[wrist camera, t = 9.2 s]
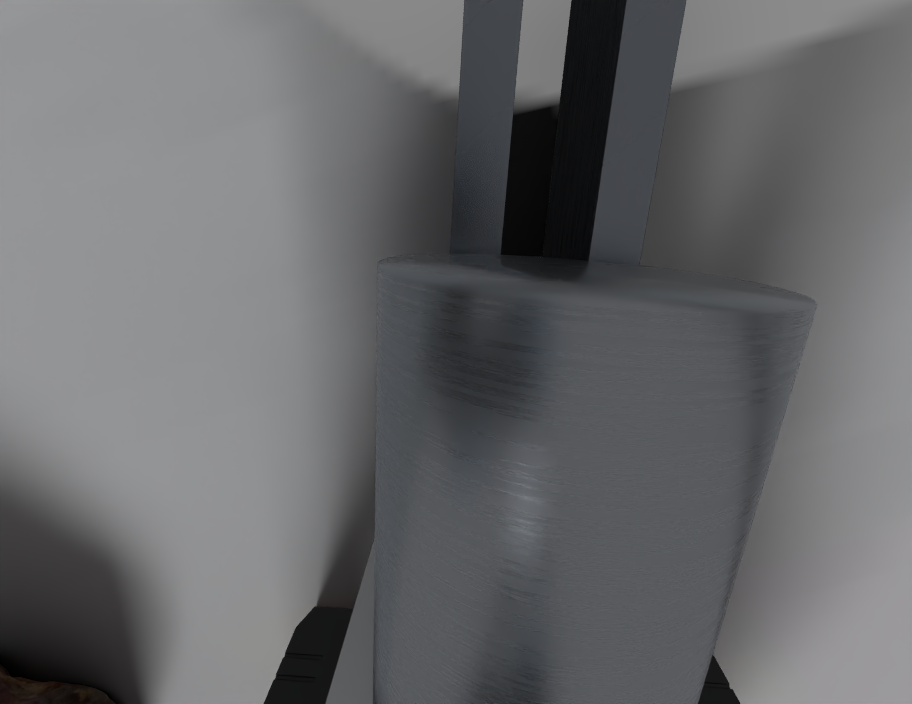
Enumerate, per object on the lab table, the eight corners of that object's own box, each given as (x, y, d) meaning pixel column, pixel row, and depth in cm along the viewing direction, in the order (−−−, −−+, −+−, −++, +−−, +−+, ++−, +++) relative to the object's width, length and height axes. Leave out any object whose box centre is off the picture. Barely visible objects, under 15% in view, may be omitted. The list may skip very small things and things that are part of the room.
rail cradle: (481, -162, 9) (493, -506, 5) (628, -154, 9) (772, -490, 5) (420, 841, 18) (405, 1033, 14) (493, 847, 18) (501, 1041, 14)
